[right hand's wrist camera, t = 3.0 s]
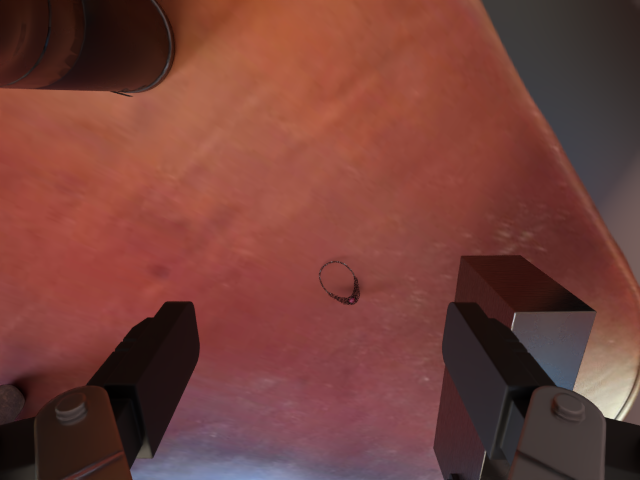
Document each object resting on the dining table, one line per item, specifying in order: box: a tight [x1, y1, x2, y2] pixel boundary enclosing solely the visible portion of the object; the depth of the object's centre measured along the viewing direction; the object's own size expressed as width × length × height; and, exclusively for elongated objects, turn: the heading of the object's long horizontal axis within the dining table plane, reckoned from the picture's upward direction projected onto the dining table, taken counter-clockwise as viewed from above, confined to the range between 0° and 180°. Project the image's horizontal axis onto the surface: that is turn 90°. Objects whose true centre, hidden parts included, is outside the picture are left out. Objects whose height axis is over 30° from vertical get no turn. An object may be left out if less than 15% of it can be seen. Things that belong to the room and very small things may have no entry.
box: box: [433, 255, 596, 480], centre depth 37 cm, size 27×6×11 cm, turn 0°
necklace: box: [319, 261, 360, 305], centre depth 43 cm, size 4×6×1 cm
